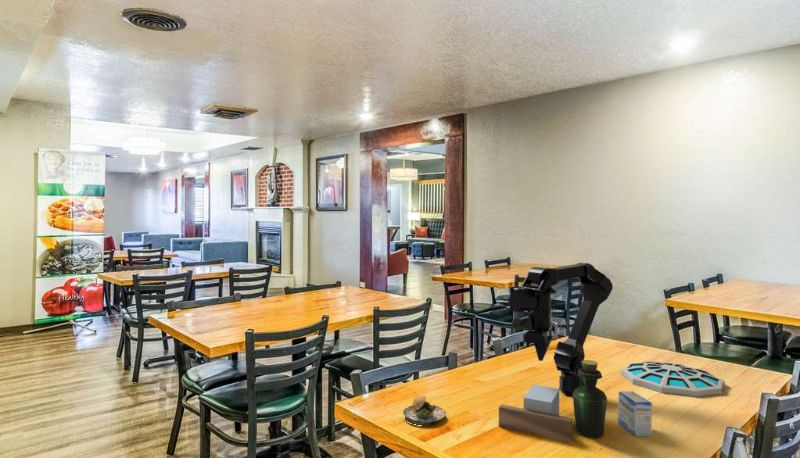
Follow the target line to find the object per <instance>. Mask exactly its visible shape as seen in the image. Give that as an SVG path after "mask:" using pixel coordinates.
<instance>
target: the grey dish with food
mask: <svg viewBox="0 0 800 458" xmlns="http://www.w3.org/2000/svg"><path fill="white" fill-rule="evenodd" d="M414 393H415V395H416V397H415V398H414V399H413V401H412V405H409V406H407V407H406V408H404V409H403V410H402V411H403V412H402V414H403V415H405V420H406V421H408V422H410V423H412V424H416V425H422V426H429V427H430V425H431V423H435V422H439V421H440V420H442V419H444V417H446V414H447V412H446V411H445V410H444V409H443V408H442V407H440V406H438V405H435V404H430V402H429V401H427V400H426V399H427V396H425V395H418V396H417V393H416V392H414Z"/></svg>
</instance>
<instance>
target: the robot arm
mask: <svg viewBox="0 0 800 458" xmlns="http://www.w3.org/2000/svg"><path fill="white" fill-rule="evenodd" d="M577 278H578V281H579V283H580V284H581V285H582V288H581V292H582V297H583V298H582V299H583V300H582V302H581V304H580V307H579V309H578V311H577V315H576V317H575V319H574V322H573V324H572V327H571V329H570V331H569V334H568V336H567V338H566V339H565V340H564V341H560V340H559V341H558V342H557V344H556V348H555V350H554V351H553V353H554V354H553V361H554V364H555V367H556V370H557V371H559V372H560V376H559V379H558V380H559V381H558V382H559V383H558V385H559V387H558V389H559V391H561V392H562V394H564V395H565V396H566V397H573V392H574V390H575V389H576V388H578V387H580V386H583V385H584V384H583V381H582V377H580V376H578V374H577V373H578V371H579V369H582V368H583V366H582V361H583V360H585V356H586V355H585V349H584V344H585V342H586V340H587V337H588V335H589V332H590V329H591V327H592V325H593V323H594V319H595V316H596V314H597V313H598V309H599V306H600V305H601V304H602V303H605V301H606V300H607V299H608V298H609V296H610V294H611V293H612V291H613V283H612V281H611V279H610V278H609V277H607V276H606V275H605V273H602V272H601V271H599V270H597V269H596V268H595V266H593V264H591V263H583V262H578V263H575V264H570V265H569V264H568V265H564V266H563V265H562V266H557V267H543V266H541V267H540V266H532V267H531V268H529V271H528V272H527V275H526V276H525V278H524V279H523V282H522V284H521V285H520V288H518V287H515V288H513V291H512V292H511V293H510V294H509V296H508V301H507V302H508V306H509V308H510V310H511V311H512V312H514V313H518V312H527V311H529V313H528V315H526V316H523V317H522V316H521V317H520V316H517V317H514V318H512V321H511V328H512V329H513V330H514V332H519V331H521V330H525V329H527V331H526V332H525V333H524V334H523V335H522V341H523V343H527V344H533V345H534V347H535V352H536V355H537V359H538V360H537V361H539V362H542V361H544V358H545V357H546V354H547V352H548V349H549V347H550V344H551V343H552V340H553V339H554V336H552V335H549V332H552V334H556V333H557V332H558V325H557V324H556V323H555V322H551V321H552V318H551V317H552V316H553V311H552V307H551V306H552V305H551V304H552V295H553V294H555V295H556V294H557V291H556V290H555V289H554V288H553V287H554V286H556V285H557V284H558V283H559V282H561V281H566V280H572V279H577Z"/></svg>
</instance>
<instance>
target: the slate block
mask: <svg viewBox="0 0 800 458" xmlns="http://www.w3.org/2000/svg"><path fill="white" fill-rule="evenodd" d="M523 408H524V409H529V410H534V411H539V412H544V413H550V414H555V415H560V389H559V388H555V387H548V386H543V385H538V384H533V385H532V386H531V387H530V389H529V390H528V391H527V392H526V394H525V395H524V396H523Z"/></svg>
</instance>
